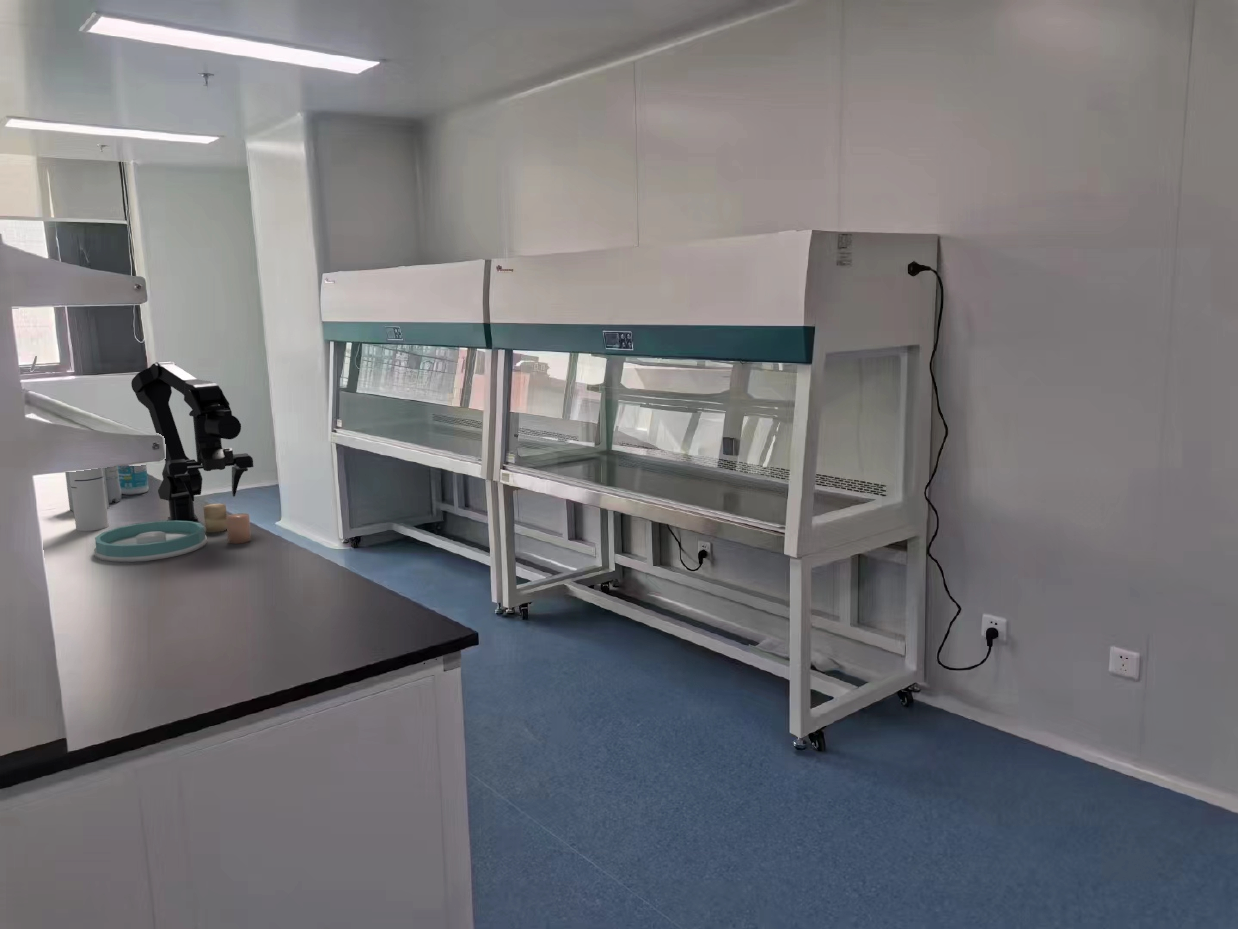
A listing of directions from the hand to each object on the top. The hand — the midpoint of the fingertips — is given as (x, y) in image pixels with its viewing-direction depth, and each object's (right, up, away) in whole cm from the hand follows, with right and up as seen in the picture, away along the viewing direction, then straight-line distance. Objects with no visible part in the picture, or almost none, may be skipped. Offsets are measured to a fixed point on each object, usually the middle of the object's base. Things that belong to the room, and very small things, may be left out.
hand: (213, 498), depth 221 cm
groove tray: (-8, -11, -14) cm, 19 cm away
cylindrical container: (-32, -8, +5) cm, 34 cm away
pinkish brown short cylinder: (+10, -10, -9) cm, 16 cm away
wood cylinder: (0, -8, +1) cm, 8 cm away
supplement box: (-45, -4, +24) cm, 51 cm away
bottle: (-44, -2, +33) cm, 55 cm away
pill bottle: (-43, 0, +45) cm, 62 cm away
